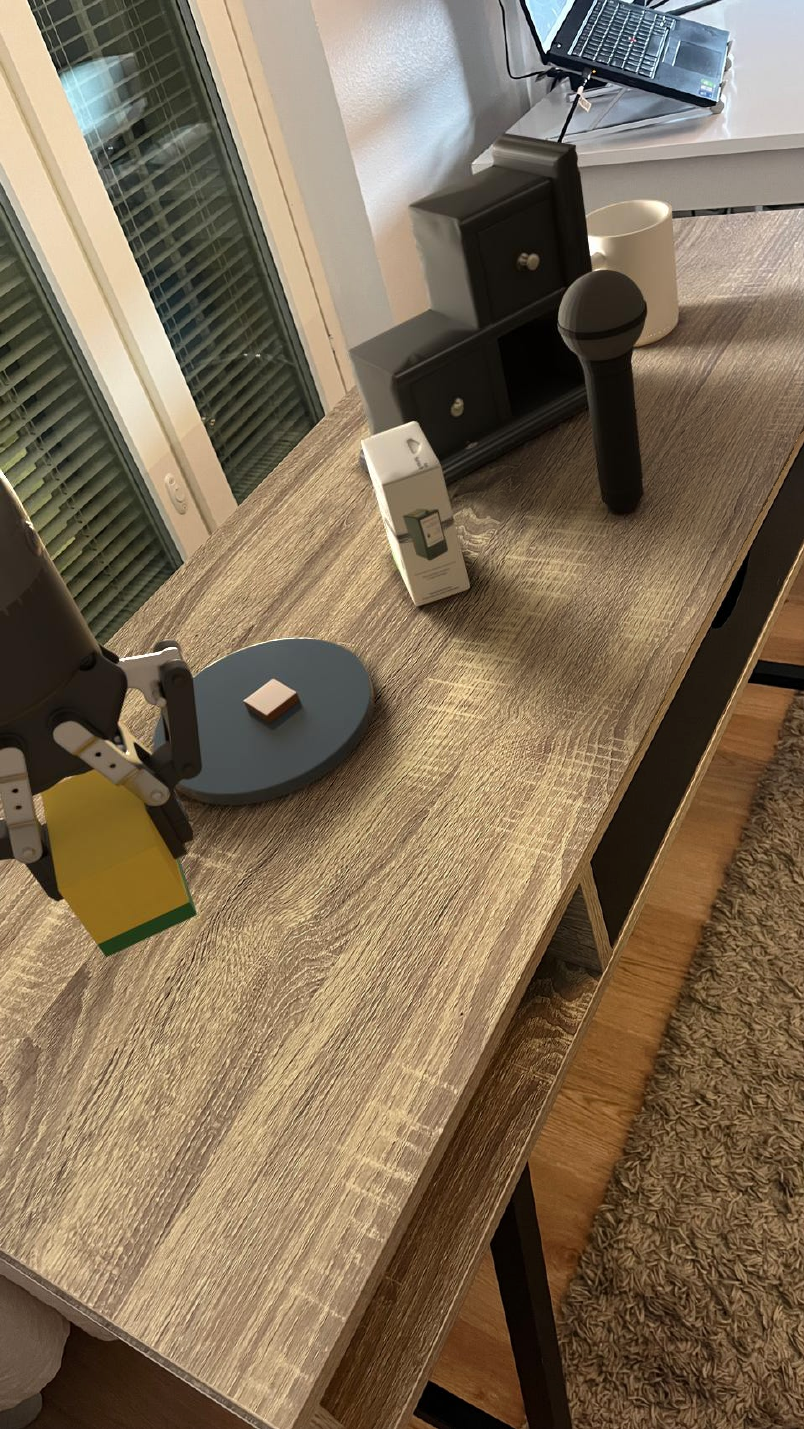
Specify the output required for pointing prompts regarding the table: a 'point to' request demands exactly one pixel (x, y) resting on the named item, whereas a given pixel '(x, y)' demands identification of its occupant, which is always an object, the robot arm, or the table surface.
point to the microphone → (609, 376)
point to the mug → (639, 256)
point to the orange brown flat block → (271, 700)
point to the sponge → (113, 862)
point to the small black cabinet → (486, 311)
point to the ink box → (416, 512)
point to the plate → (276, 720)
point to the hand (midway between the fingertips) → (127, 867)
